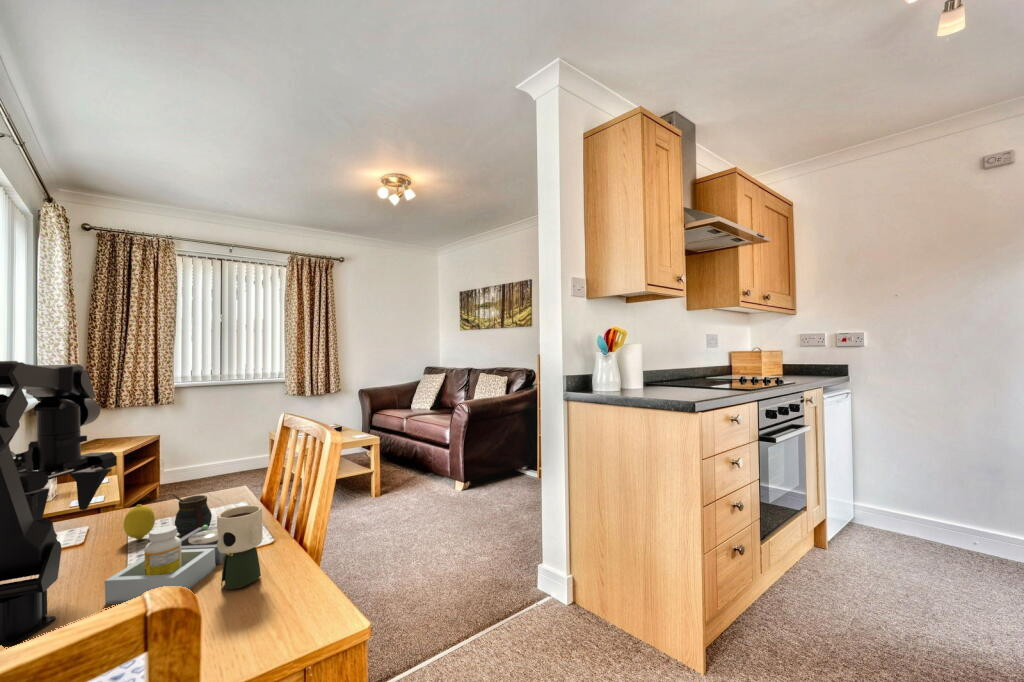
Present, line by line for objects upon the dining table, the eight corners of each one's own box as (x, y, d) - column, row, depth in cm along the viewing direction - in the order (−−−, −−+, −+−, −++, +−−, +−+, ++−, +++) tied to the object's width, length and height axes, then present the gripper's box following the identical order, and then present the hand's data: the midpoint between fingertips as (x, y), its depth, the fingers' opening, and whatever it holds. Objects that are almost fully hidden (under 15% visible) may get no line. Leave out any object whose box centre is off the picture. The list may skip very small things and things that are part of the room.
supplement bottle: (175, 587, 82) (174, 532, 82) (139, 592, 80) (138, 537, 80) (186, 573, 87) (185, 522, 87) (152, 578, 85) (151, 526, 86)
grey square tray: (219, 564, 91) (219, 543, 91) (163, 567, 91) (162, 545, 91) (249, 541, 102) (249, 522, 102) (199, 543, 102) (198, 524, 102)
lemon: (128, 537, 106) (127, 503, 106) (158, 533, 109) (157, 499, 109) (120, 547, 101) (119, 510, 101) (151, 541, 104) (150, 506, 104)
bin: (174, 601, 78) (173, 577, 78) (105, 604, 78) (104, 580, 78) (215, 568, 90) (214, 548, 90) (155, 571, 89) (154, 550, 89)
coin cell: (215, 552, 93) (215, 541, 93) (180, 553, 93) (180, 542, 93) (235, 537, 100) (235, 527, 100) (202, 539, 100) (202, 529, 100)
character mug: (205, 584, 84) (203, 512, 84) (245, 568, 90) (243, 500, 90) (236, 600, 78) (235, 523, 78) (277, 581, 84) (275, 510, 84)
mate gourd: (218, 530, 110) (217, 488, 110) (181, 542, 103) (181, 497, 103) (203, 524, 113) (202, 483, 114) (167, 535, 107) (166, 492, 107)
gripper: (62, 425, 94) (63, 503, 93) (-47, 445, 75) (-46, 542, 75) (118, 424, 94) (119, 501, 94) (24, 443, 75) (25, 539, 75)
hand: (60, 518), depth 84 cm, fingers open, 9 cm apart
